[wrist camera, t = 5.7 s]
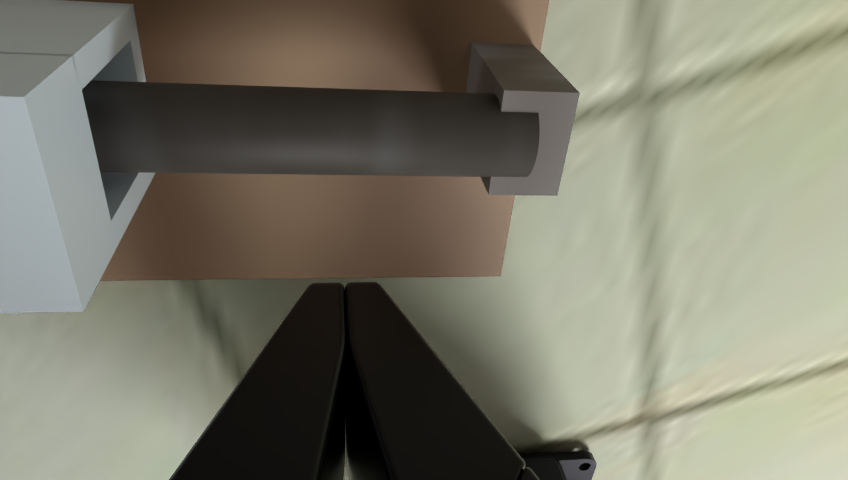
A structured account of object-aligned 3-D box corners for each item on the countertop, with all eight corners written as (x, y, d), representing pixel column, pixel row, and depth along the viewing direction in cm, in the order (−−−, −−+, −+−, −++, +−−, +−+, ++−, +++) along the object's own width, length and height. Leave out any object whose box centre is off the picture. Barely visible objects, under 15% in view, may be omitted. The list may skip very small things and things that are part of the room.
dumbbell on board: (566, -182, 14) (711, -193, 9) (493, 258, 20) (550, 407, 15) (-375, -278, 11) (-996, -378, 6) (-120, 262, 18) (-312, 444, 12)
